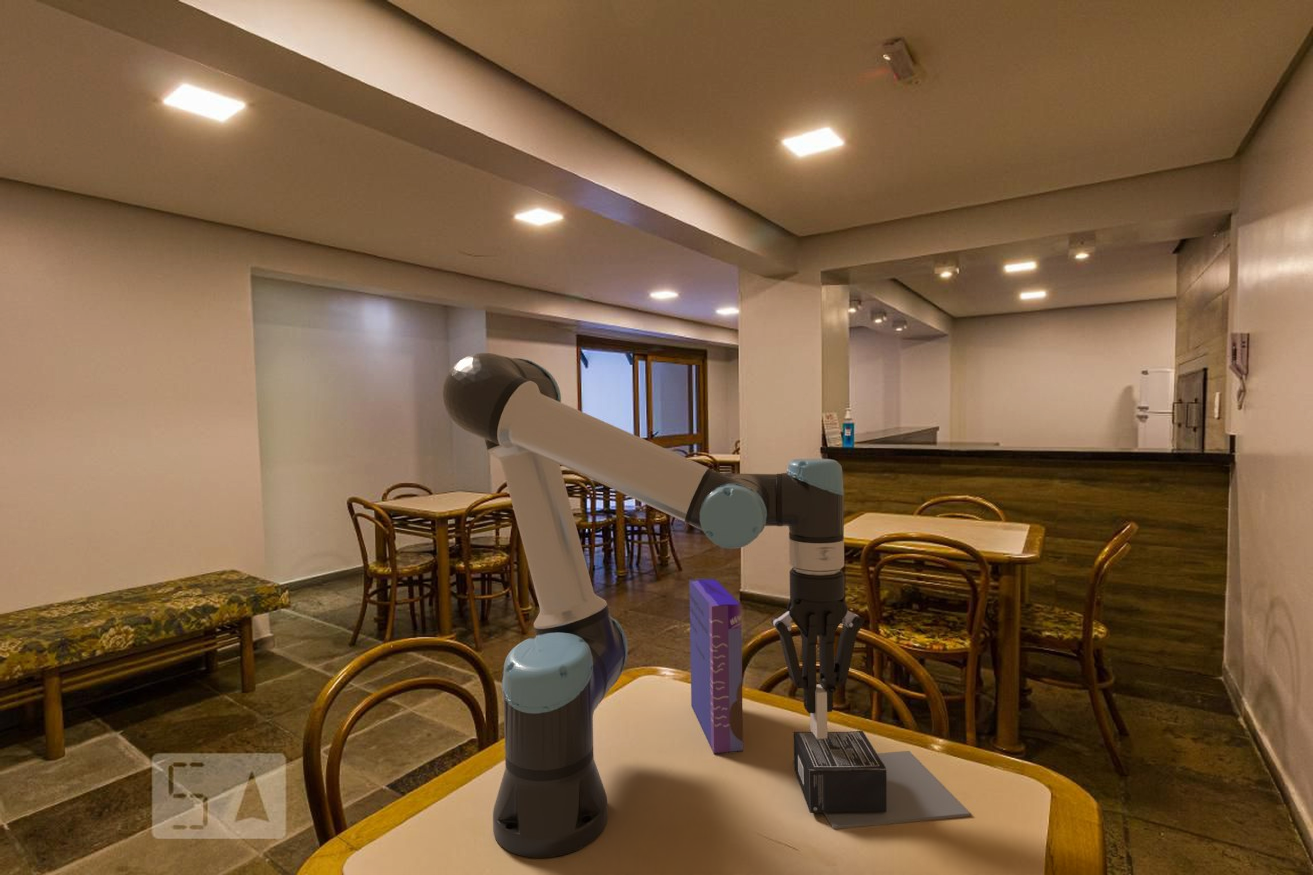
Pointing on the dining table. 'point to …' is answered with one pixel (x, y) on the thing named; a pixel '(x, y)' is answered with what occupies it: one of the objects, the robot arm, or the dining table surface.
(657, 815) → the dining table surface
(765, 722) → the dining table surface
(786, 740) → the dining table surface
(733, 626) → the cereal box
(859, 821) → the mat
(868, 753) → the small box
